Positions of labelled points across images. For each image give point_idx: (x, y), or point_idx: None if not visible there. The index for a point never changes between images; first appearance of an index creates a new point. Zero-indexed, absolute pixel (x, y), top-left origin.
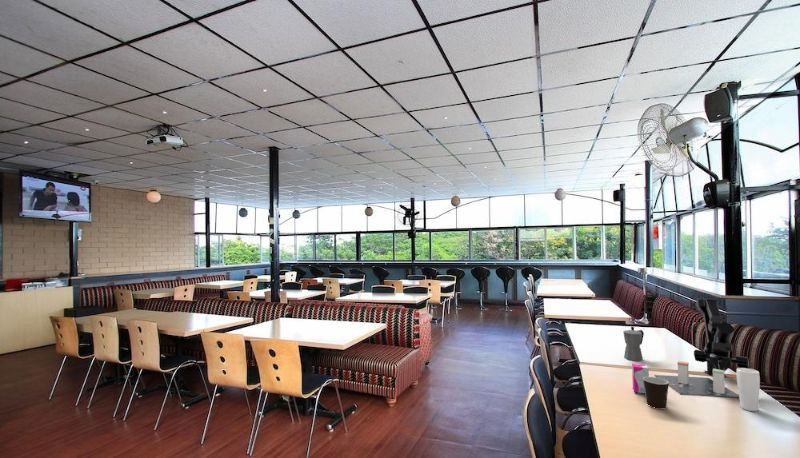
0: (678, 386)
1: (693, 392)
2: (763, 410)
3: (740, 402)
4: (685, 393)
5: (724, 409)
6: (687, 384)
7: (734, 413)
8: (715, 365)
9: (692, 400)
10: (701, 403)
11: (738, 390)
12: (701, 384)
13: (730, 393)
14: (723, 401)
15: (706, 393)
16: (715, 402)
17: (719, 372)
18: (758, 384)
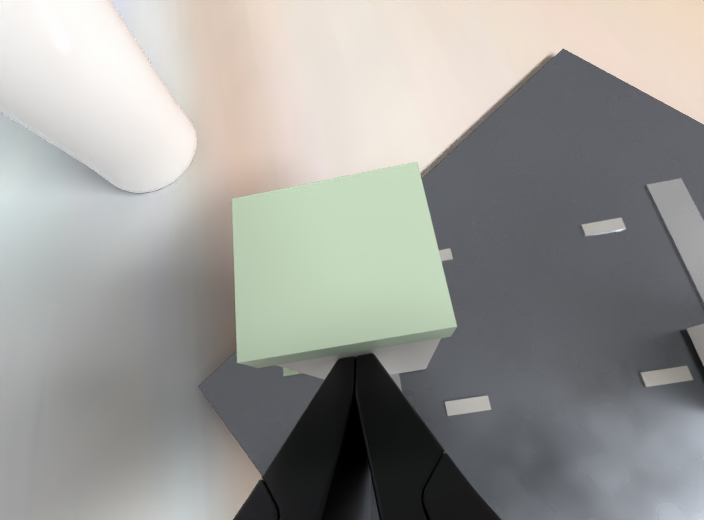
0: (690, 194)
1: (514, 145)
2: (84, 208)
3: (175, 101)
4: (537, 73)
5: (266, 36)
6: (688, 328)
7: (217, 25)
8: (465, 488)
9: (446, 21)
10: (388, 19)
11: (124, 24)
12: (617, 510)
13: (295, 407)
14: (302, 167)
15: (437, 209)
16: (334, 103)
17: (301, 196)
18: None
